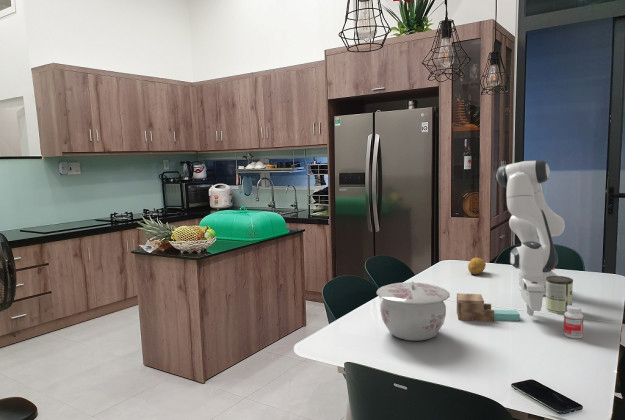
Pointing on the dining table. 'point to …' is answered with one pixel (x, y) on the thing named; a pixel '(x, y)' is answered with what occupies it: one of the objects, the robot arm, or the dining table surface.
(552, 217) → the robot arm
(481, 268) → the potato
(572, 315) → the pill bottle
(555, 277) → the coffee can
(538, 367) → the dining table surface
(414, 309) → the chamber pot
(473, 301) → the wooden stepped block
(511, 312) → the teal rectangular block
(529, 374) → the dining table surface
